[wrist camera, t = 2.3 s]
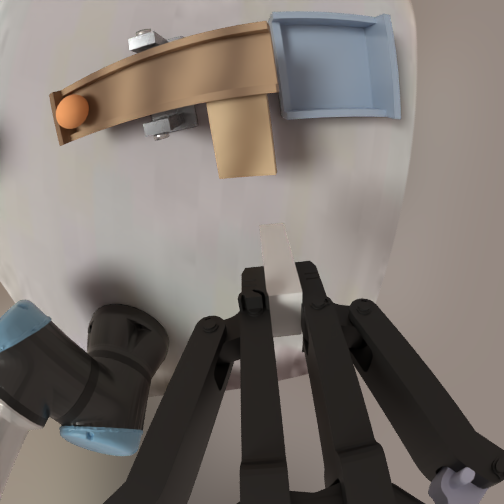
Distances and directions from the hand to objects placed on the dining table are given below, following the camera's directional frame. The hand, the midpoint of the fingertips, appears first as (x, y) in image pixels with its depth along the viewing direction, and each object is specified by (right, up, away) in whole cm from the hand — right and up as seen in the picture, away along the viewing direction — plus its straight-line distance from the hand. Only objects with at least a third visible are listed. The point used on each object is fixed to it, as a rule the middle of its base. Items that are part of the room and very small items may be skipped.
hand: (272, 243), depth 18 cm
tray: (+7, +21, +8) cm, 23 cm away
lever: (-10, +12, +5) cm, 16 cm away
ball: (-19, +13, +3) cm, 23 cm away
